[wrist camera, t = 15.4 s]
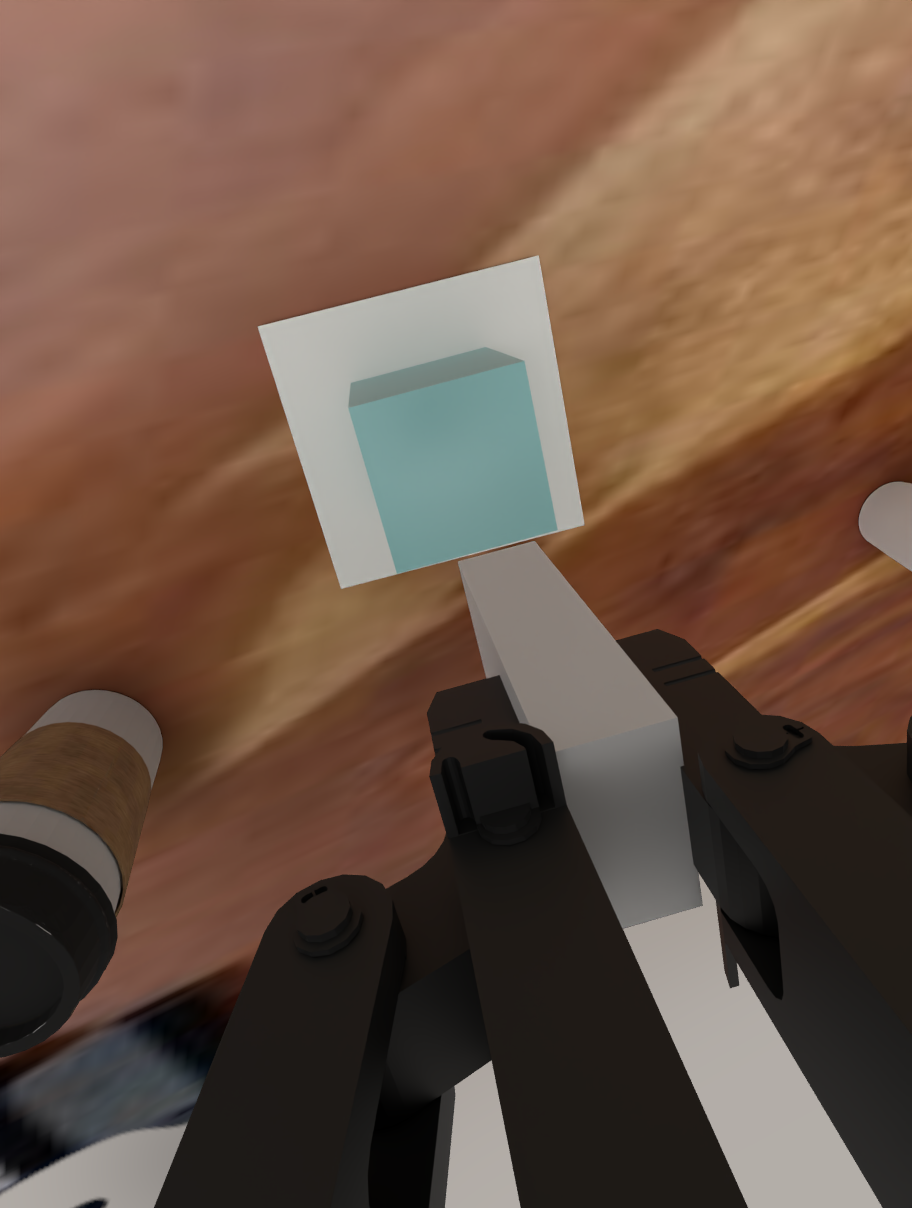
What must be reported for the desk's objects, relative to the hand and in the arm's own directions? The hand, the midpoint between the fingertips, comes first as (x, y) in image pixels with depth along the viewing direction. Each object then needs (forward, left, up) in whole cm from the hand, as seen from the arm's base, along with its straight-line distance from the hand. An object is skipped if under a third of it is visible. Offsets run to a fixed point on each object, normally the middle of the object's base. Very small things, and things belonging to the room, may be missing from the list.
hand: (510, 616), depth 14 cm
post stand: (0, 0, -22) cm, 22 cm away
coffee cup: (-20, -11, -22) cm, 31 cm away
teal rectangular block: (0, 0, -21) cm, 21 cm away
